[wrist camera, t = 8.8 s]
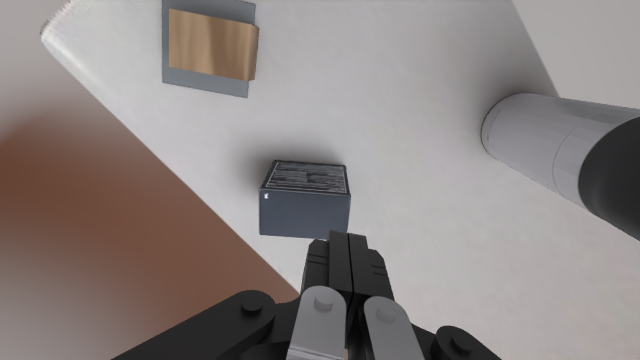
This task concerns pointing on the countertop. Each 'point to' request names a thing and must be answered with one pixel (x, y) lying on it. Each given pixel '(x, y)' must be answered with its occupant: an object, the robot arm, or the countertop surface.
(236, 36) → the walnut block
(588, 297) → the countertop surface
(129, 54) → the countertop surface
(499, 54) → the countertop surface
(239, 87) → the mat
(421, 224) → the countertop surface
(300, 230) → the small box
